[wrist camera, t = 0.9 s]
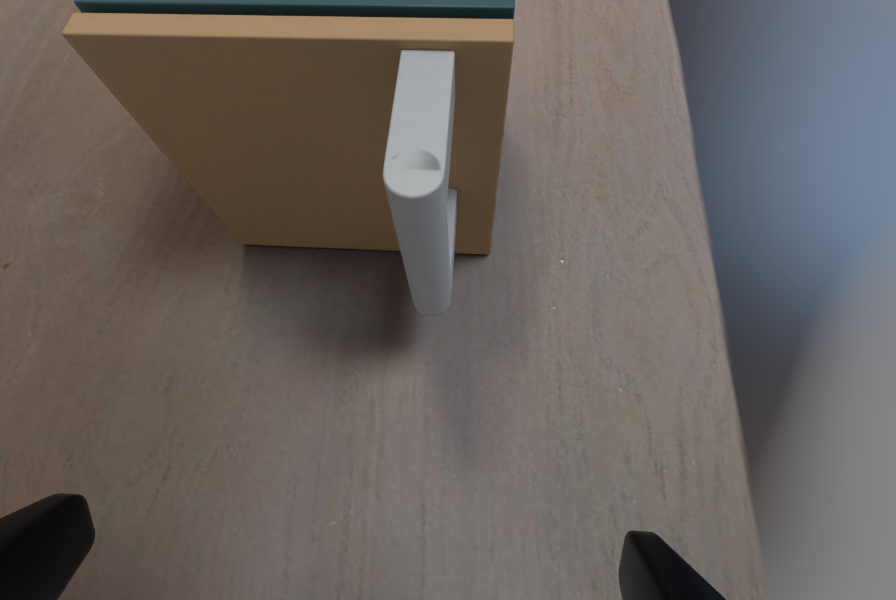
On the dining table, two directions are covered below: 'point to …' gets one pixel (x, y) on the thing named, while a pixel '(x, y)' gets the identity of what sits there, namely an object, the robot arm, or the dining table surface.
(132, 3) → the fridge
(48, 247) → the dining table surface
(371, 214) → the fridge door
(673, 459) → the dining table surface
